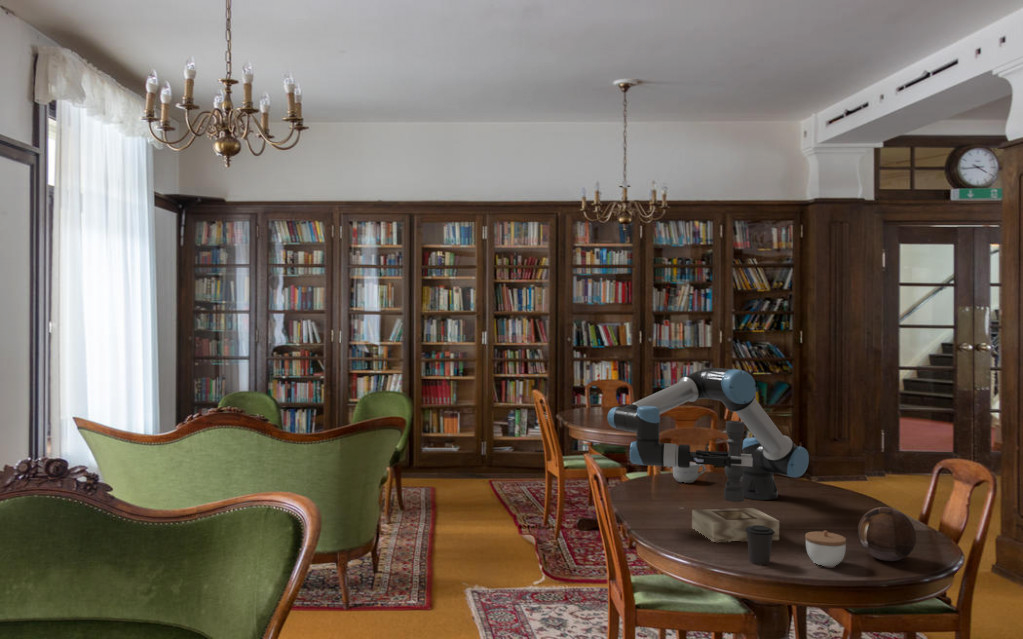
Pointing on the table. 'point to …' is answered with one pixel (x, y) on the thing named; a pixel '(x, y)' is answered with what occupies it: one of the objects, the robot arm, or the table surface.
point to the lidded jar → (825, 547)
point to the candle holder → (734, 473)
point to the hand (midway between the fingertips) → (751, 460)
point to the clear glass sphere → (886, 534)
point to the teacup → (687, 473)
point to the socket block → (731, 523)
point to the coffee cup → (759, 543)
